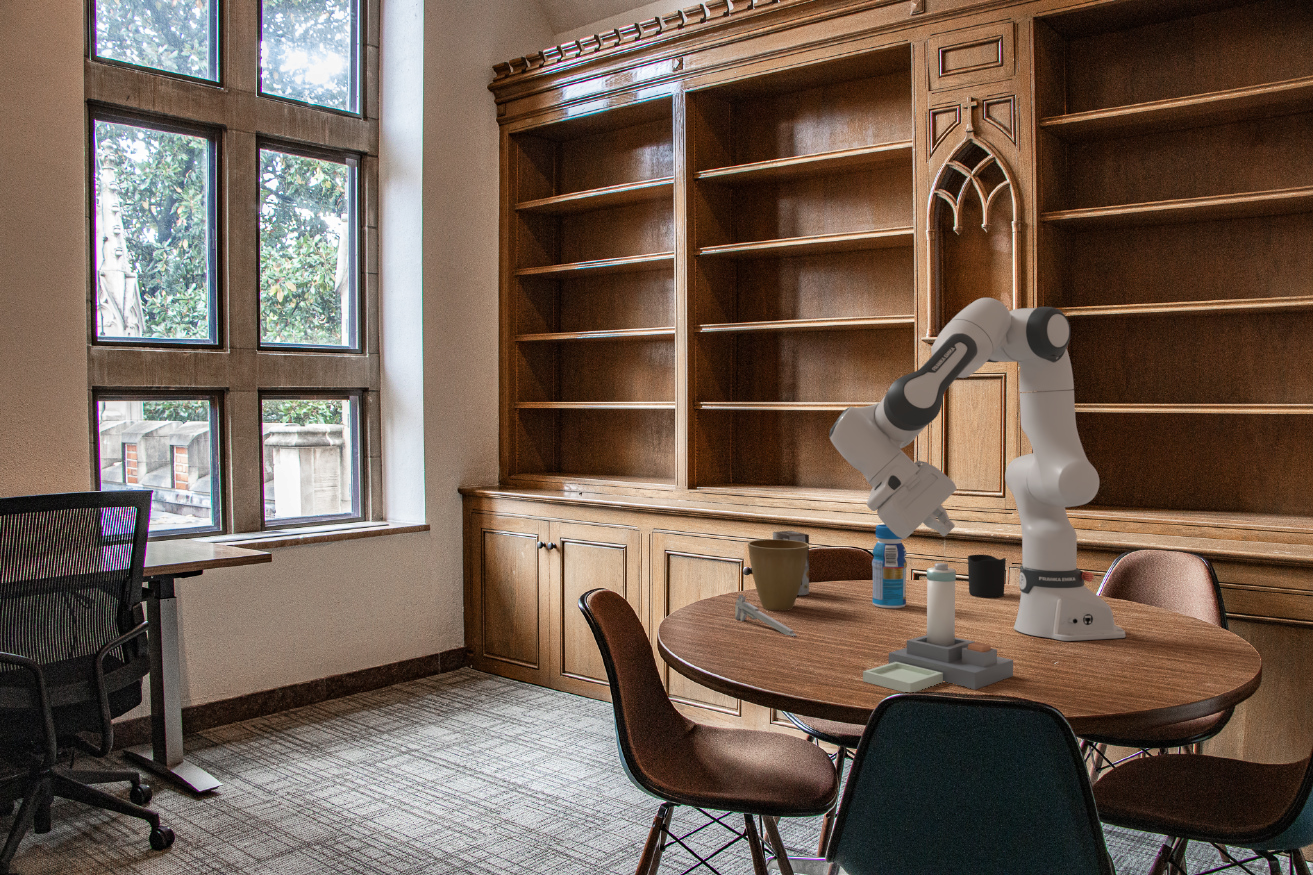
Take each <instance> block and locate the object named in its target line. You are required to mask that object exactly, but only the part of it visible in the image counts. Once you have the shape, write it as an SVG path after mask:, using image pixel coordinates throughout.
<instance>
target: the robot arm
mask: <svg viewBox="0 0 1313 875" xmlns="http://www.w3.org/2000/svg"><path fill="white" fill-rule="evenodd" d="M1071 335H1072V334H1071V324H1070V321H1069V319H1068V317H1067V316H1066V315H1065V313H1064V312H1063V311H1062V310H1061V309H1059V308H1056V307H1053V306H1038V307H1025V308H1024V307H1022V308H1014V309H1012V310H1009V309H1008V308H1007V306H1006V305H1005V303H1003V302H1001V301H1000V300H998V299H996V298H992V297H981V298H978V299H976V300H974V301H973V302H972V303H971V302H970V303H969V304H968V305H967V306H965V307H964V308H963V309H961V310H960V311H959V312H958V313H957V314H956V315H954V317H952V318H951V320H950V321H948V322H947V324H946V325H945V326H944V328H942V330H941V331H940V332H939V334H938V335H937V337H936V338H935V340H934V341H933V344H932V345H931V349H930V350H931V351H930V352H931V357H930V358H928V360H927V361H926V362H925V363H924V364H923V365H922V366H921V367H920V368H919V369H918V370H915V371H914V372H911V373H908V374H905V375H903V376H901V377H899V378H897V379H895V380H894V381H893V383H892V384H891V385H890V387H889V388H888V390H887V392H886V393H885V395H884V397H883V398H882V399H881V400H880V401H879V402H877V403H874V404H871V405H867V406H860V407H859V406H858V407H855V406H849V407H847V408H845V410H844V411H842V413H841V414H840V415H839V417H838V418H837V419H836V421H835V422H834V423H833V425H832V426H831V427H830V430H829V434H828V435H829V436H828V437H829V439H830V442H831V443H832V445H833V447H834V448H835V449H836V451H837V452H839V454H840V455H841V456H842V458H843V459H844V460H846V462H847V463H848V464H850V466H851V467H852V468H854V469H856V470H858V472H860V473H861V474H862V475H863V476H864V478H865V480H866V482H867V483H868V484H869V485H870V486H871V487H872V488H871V490H870V492H869V495H868V499H867V501H866V506H867V507H868V508H869V510H871V511H872V512H875V511H876V514H877V516H878V518H879V519H880V521H881V522H882V524H885V525H886V526H887V527H888V528H889V529H890V530H891V531H892V532H893V533H894V534H895V535H896V536H898V537H900V538H903V540H905V539H907V538H908V537H909V536H910V535H911V534H913V533H914V531H916V530H917V529H918V528H919V527H920V525H922V524H924V526H926V527H927V528H930V529H931V530H934V531H937V532H938V533H939V534H940V536H942V537H946V536H947V535H948V534H949V533H950V532H952V530H954V528H955V527H956V524H955V523H954V522H953V521H952V520H950V517H949V515H948V512H947V511H946V509H945V507H943V506H942V504H943V503H944V502H945V501H947V500H948V499H949V498H950V497H951V496H952V495H953V494H954V493H955V492H956V491H957V486H956V484H955V482H954V481H953V479H951V478H950V477H949V476H948V475H946V474H945V473H944V472H943V471H942V470H940V469H939V468H937V467H936V466H935V465H932V464H930V463H928V462H927V461H921V460H916V461H915V462H914V461H913V460H912V459H911V458H910V457H909V455H907V454H906V453H905V452H904V451H903V450H902V449H903V448H905V447H907V446H909V445H910V444H911V443H912V442H913V441H914V440H915V439H916V438H917V437H918V436H919V434H920V433H921V432H922V431H924V429H925V428H926V427H927V426H928V425H930V423H932V422H933V421H934V420H935V419H936V417H938V415H939V413H940V411H941V409H942V404H943V400H944V395H945V393H946V391H947V389H948V388H949V387H950V386H951V385H952V383H954V381H955V380H956V379H957V378H961V379H964V378H968V377H970V376H971V375H973V374H974V373H976V372H977V371H978V370H979V369H981V367H983V366H984V365H985V364H986V363H987V362H988V363H995V364H996V363H999V362H1001V363H1016V362H1017V363H1018V366H1019V367H1020V369H1019V381H1018V382H1019V386H1018V387H1019V412H1020V427H1021V430H1022V431H1023V433H1024V434H1025V435H1026V437H1027V439H1028V440H1029V443H1030V445H1031V448H1032V453H1028V454H1023V455H1020V456H1018V457H1015V458H1014V459H1013V460H1011V462H1009V464H1008V465H1007V467H1006V469H1005V474H1004V481H1005V483H1006V486H1007V488H1008V489H1009V491H1010V492H1011V494H1012V496H1013V498H1014V502H1015V505H1016V510H1017V512H1018V517H1019V523H1020V525H1021V526H1020V527H1021V536H1022V537H1021V540H1022V542H1021V543H1022V544H1021V546H1022V551H1021V553H1022V554H1021V555H1022V558H1021V560H1022V561H1021V562H1022V563H1021V565H1020V566H1019V567H1020V568H1019V579H1018V580H1019V582H1018V583H1019V591H1020V598H1019V599H1020V600H1019V605H1018V611H1017V615H1016V618H1015V619H1016V620H1015V623H1014V626H1013V630H1015V631H1016V632H1019V633H1021V634H1025V635H1029V636H1035V637H1042V638H1047V639H1054V640H1058V641H1063V642H1071V641H1073V642H1074V641H1075V642H1076V641H1088V640H1089V641H1091V640H1093V641H1094V640H1107V639H1108V640H1109V639H1124V638H1126V630H1125V629H1123V628H1122V627H1121V626H1118V625H1116V624H1115V621H1114V615H1113V610H1112V607H1111V606H1110V605H1109V603H1107V602H1106V601H1105V600H1104V599H1102V598H1101V597H1100V596H1098V595H1097V594H1096V593H1095V592H1093V591H1092V590H1091V589H1089V588H1088V587H1087V586H1085V581H1086V582H1088V583H1091V582H1093V580H1095V576H1094V574H1093V573H1092V572H1090V571H1083V570H1081V569H1079V568H1078V567H1077V562H1078V561H1077V554H1078V553H1077V550H1078V548H1077V547H1078V545H1077V544H1078V542H1077V540H1078V539H1077V537H1078V535H1077V533H1076V530H1075V528H1074V527H1073V525H1072V524H1071V522H1070V520H1069V517H1068V514H1067V510H1066V508H1071V507H1072V508H1073V507H1078V506H1082V505H1086V504H1088V503H1089V502H1091V501H1092V500H1093V499H1094V498H1095V497H1096V495H1097V494H1098V491H1099V488H1100V477H1099V474H1098V472H1097V470H1096V468H1095V467H1094V466H1093V464H1092V463H1091V462H1090V461H1089V460H1088V457H1087V455H1086V452H1085V450H1084V447H1083V444H1082V442H1081V438H1080V436H1079V432H1078V428H1077V421H1076V408H1075V407H1076V404H1075V385H1074V384H1075V383H1074V375H1073V368H1072V363H1071V359H1070V356H1069V352H1068V349H1067V348H1068V346H1069V343H1070V340H1071Z"/></svg>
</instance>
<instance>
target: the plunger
mask: <svg viewBox="0 0 1313 875" xmlns="http://www.w3.org/2000/svg"><path fill="white" fill-rule="evenodd" d="M991 645H992V644H989V643H984V642H979V641H975V643H971V644H968V649H969V650H974V651H978V652H986V651H989V650H991V648H992V647H991Z"/></svg>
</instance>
